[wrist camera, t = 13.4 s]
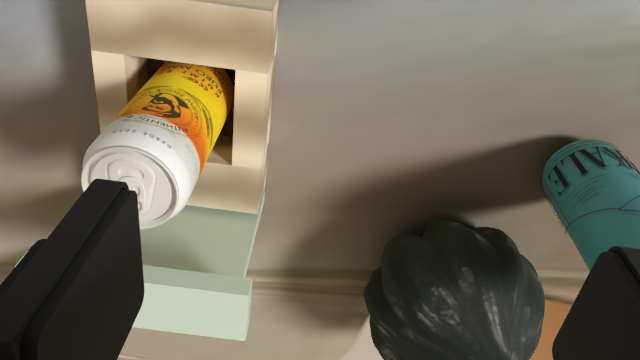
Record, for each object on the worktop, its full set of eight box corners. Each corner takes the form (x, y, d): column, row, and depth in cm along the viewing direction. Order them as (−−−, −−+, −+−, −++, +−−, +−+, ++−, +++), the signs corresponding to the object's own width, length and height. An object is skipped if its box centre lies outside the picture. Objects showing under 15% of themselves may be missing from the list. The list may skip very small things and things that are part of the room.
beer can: (239, 57, 40) (187, 152, 27) (232, 128, 43) (182, 243, 31) (159, 42, 40) (69, 130, 27) (158, 114, 43) (76, 224, 30)
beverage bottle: (584, 205, 45) (723, 416, 28) (516, 180, 44) (617, 383, 28) (633, 142, 42) (823, 339, 25) (561, 114, 41) (707, 298, 24)
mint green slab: (114, 144, 45) (14, 266, 31) (278, 165, 45) (248, 295, 32) (118, 183, 47) (26, 313, 34) (275, 204, 47) (245, 341, 34)
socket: (111, -28, 37) (83, -15, 33) (280, -5, 37) (272, 11, 34) (127, 166, 46) (107, 194, 42) (265, 184, 46) (257, 214, 42)
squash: (329, 353, 49) (458, 481, 39) (340, 219, 42) (504, 335, 32) (430, 293, 57) (559, 386, 47) (455, 171, 50) (614, 252, 40)
